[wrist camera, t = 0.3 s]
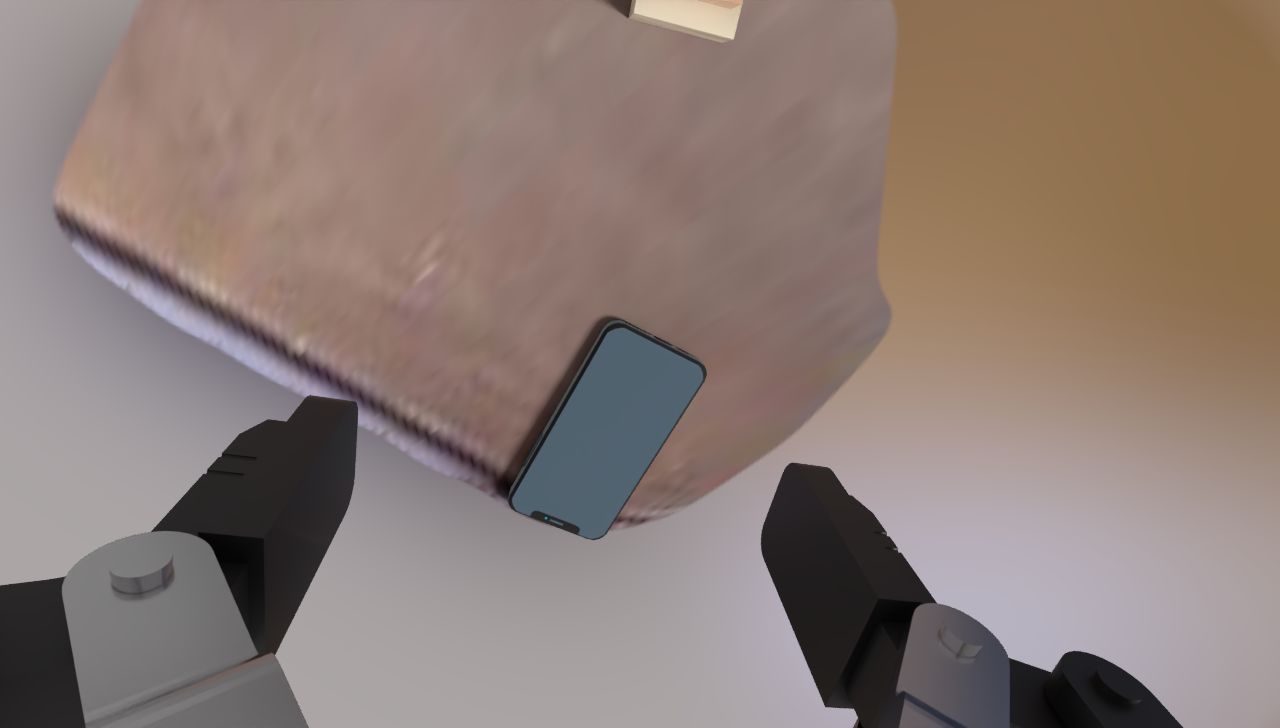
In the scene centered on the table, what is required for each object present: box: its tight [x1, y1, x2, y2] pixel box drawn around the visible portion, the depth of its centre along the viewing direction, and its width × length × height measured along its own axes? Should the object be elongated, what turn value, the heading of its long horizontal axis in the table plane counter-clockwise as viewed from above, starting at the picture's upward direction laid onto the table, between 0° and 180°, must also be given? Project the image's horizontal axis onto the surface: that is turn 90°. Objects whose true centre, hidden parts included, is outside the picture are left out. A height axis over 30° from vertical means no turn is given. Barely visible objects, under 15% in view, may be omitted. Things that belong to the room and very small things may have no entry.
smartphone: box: [508, 320, 707, 540], centre depth 41 cm, size 8×2×15 cm
